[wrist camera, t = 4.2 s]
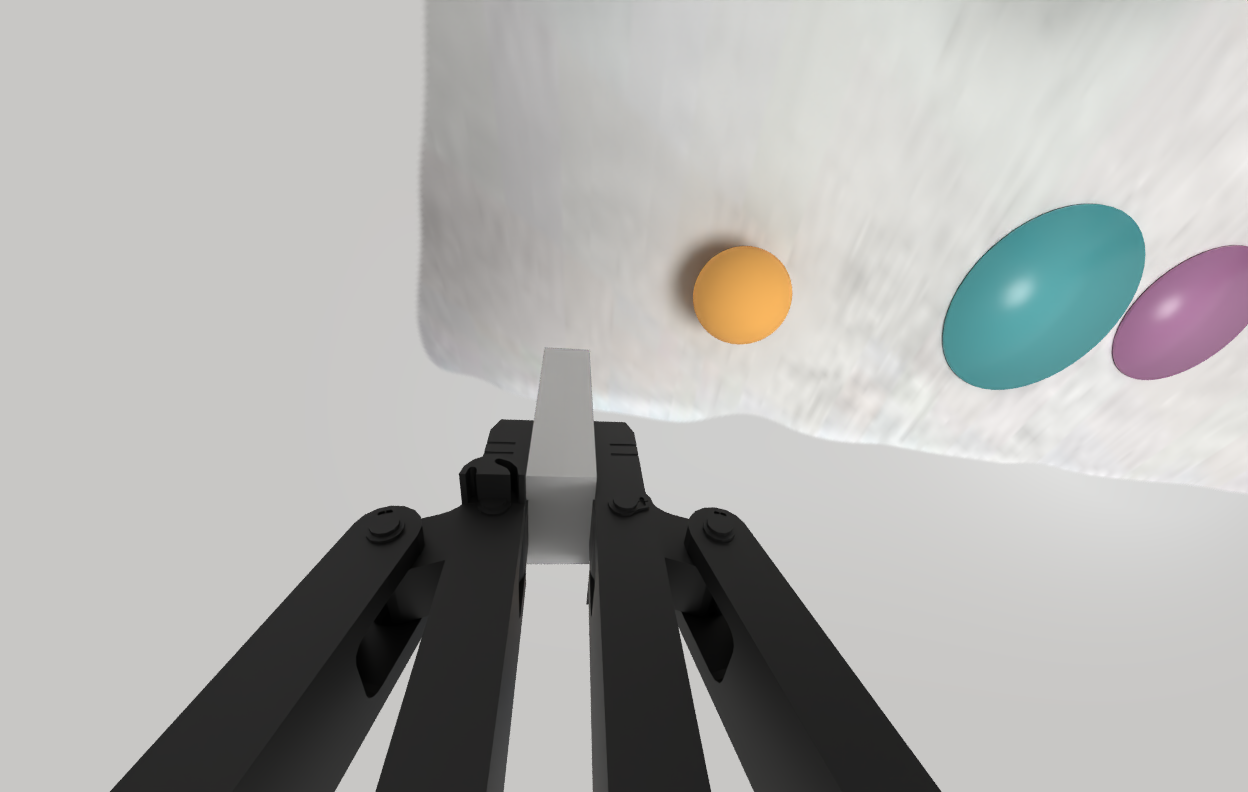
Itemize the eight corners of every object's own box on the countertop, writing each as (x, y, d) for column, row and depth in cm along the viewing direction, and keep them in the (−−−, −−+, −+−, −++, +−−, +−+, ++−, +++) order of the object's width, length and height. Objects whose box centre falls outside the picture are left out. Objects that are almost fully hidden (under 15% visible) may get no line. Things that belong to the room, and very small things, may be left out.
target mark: (1002, 193, 27) (1005, 194, 27) (1187, 213, 29) (1191, 214, 29) (912, 384, 34) (913, 385, 34) (1066, 392, 35) (1069, 393, 35)
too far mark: (1177, 239, 30) (1180, 239, 30) (1303, 251, 31) (1307, 252, 31) (1084, 375, 35) (1086, 376, 35) (1196, 381, 36) (1198, 383, 36)
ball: (693, 232, 27) (716, 255, 22) (781, 240, 28) (822, 264, 23) (678, 320, 30) (696, 357, 25) (759, 325, 30) (792, 363, 26)
